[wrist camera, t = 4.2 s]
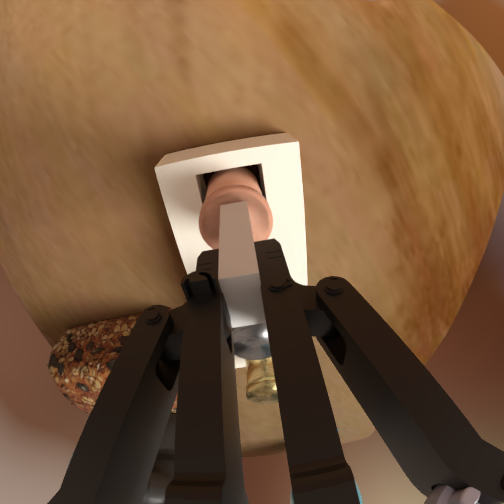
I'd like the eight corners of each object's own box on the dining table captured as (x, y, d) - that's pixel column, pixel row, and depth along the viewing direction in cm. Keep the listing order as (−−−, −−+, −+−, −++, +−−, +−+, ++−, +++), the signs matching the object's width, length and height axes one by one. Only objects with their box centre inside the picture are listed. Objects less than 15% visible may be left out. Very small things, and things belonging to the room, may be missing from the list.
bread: (100, 367, 37) (86, 420, 28) (59, 323, 31) (35, 380, 23) (206, 354, 36) (205, 420, 27) (173, 300, 30) (161, 376, 22)
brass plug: (245, 362, 30) (250, 406, 25) (239, 339, 28) (243, 387, 23) (284, 355, 30) (293, 399, 25) (281, 332, 28) (291, 379, 23)
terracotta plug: (211, 219, 22) (207, 260, 18) (199, 168, 20) (190, 197, 15) (264, 210, 22) (276, 248, 18) (257, 158, 20) (268, 183, 15)
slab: (223, 344, 34) (224, 369, 31) (165, 154, 21) (154, 167, 18) (301, 331, 34) (307, 356, 31) (286, 132, 21) (298, 141, 18)
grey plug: (231, 311, 25) (234, 363, 21) (221, 275, 23) (221, 328, 18) (278, 304, 25) (289, 354, 21) (274, 266, 23) (287, 317, 18)
